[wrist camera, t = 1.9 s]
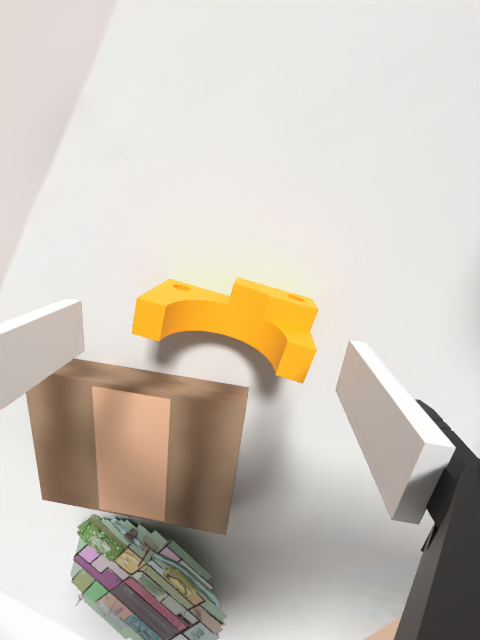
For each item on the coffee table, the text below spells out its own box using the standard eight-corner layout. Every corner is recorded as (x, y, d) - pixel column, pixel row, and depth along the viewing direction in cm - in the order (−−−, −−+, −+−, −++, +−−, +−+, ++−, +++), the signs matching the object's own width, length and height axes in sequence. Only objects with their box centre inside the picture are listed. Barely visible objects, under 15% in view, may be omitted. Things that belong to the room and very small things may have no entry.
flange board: (248, 387, 27) (246, 408, 24) (229, 507, 32) (225, 536, 29) (47, 354, 28) (20, 370, 25) (61, 475, 33) (40, 501, 30)
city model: (81, 466, 35) (38, 511, 30) (256, 545, 33) (246, 611, 27) (69, 577, 44) (34, 628, 39) (206, 646, 42) (190, 711, 36)
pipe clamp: (311, 298, 23) (326, 325, 17) (294, 343, 25) (303, 383, 19) (174, 258, 23) (140, 271, 17) (165, 306, 25) (131, 333, 19)
